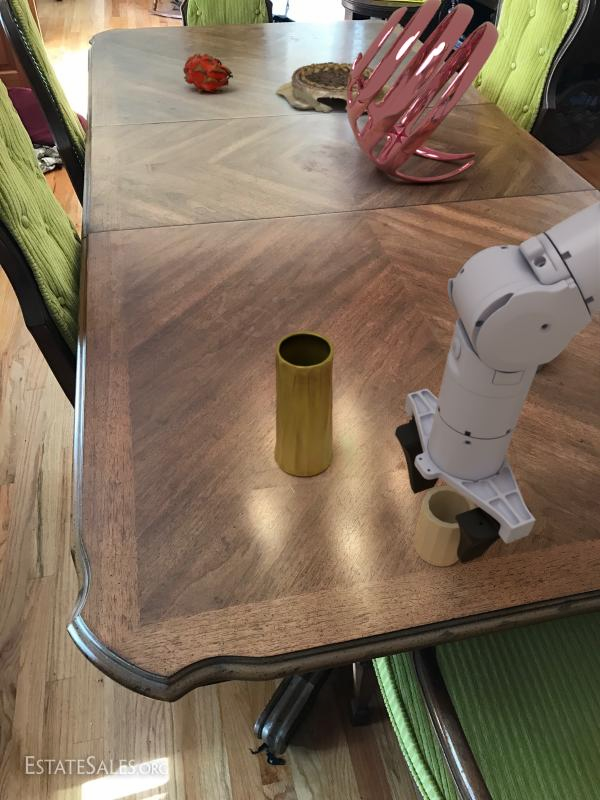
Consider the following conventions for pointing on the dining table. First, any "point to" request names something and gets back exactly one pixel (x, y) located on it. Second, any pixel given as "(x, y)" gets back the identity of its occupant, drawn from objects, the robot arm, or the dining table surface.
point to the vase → (304, 403)
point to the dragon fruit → (206, 73)
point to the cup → (440, 525)
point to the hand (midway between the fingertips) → (445, 520)
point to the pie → (322, 85)
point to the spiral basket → (416, 86)
